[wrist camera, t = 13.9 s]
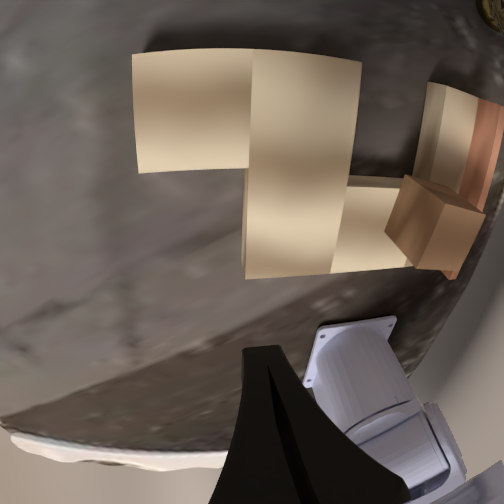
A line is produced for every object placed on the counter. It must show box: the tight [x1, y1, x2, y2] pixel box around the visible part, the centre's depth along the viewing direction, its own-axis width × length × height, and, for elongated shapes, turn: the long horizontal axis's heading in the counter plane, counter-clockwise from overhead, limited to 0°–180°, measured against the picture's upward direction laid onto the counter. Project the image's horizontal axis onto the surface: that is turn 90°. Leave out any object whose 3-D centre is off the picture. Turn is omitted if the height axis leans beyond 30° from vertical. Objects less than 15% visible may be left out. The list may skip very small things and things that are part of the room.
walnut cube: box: [384, 174, 486, 271], centre depth 16 cm, size 4×4×4 cm
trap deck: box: [132, 48, 504, 280], centre depth 16 cm, size 13×21×4 cm, turn 88°
